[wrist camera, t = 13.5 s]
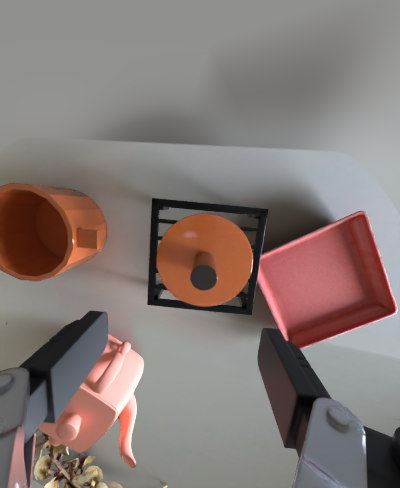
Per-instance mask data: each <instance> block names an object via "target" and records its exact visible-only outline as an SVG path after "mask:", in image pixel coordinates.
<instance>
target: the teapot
mask: <svg viewBox="0 0 400 488" xmlns="http://www.w3.org/2000/svg"><path fill="white" fill-rule="evenodd" d="M142 372H143V358H142V357H141V356H140V355H139V354H138V353H136V352H135V351H133V350H132V349H131V345H130V343H129V342H127V341H124V342H123V343H122V342H121V341H119V340H118V339H116V338H114V337H113V336H111V335H110V334H108V341H107V345H106V348H105V350H104V352H103V354H102V355H101V357H100V358H99V360H98V361H97V363H96V364H95V365H94V367H93V368H92V370H91V371H90V373H89V374H88V376H87V377H86V379H85V380H84V382H83V383H82V385H81V386H80V387H79V389H78V390H77V392H76V393H75V395H74V396H73V398H72V399H71V401H70V402H69V404H68V405H67V407H66V408H65V409H64V411H63V412H62V414H61V415H60V417H59V418H58V420H57V421H56V423H46V422H42V424H41V425H40V426H39V428H38V429H39V430H41V431H42V432H44V433H45V434H46V435H48V436H50V437H49V443H50V444H51V445H53V446H59V445H60V444H63V445H65V446H66V447H68V448H70V449H72V450H74V451H76V452H78V453H82V452H84V451H86V450H88V449H89V448H90V447H92V446H93V445H94V444H95V443H96V442H97V441H98V440H99V439H100V438H101V437H102V436H103V435H104V434H105V433H106V432H107V430H108V429H109V428H110V426H111V425H112V424H113V422H114V421H115V420H116V418H117V417H118V419H119V421H120V425H121V432H120V440H119V450H120V454H121V457H122V459H123V460H124V462H125V463H126V464H127V465H129V466H130V467H132V468H135V467H136V462H135V460H134V457H133V454H132V450H131V437H132V431H133V427H134V422H135V418H136V411H137V405H136V400H135V397H134V394H133V392H134V390H135V388H136V386H137V384H138V382H139V380H140V378H141V375H142Z"/></svg>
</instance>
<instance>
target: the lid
mask: <svg viewBox="0 0 400 488" xmlns="http://www.w3.org/2000/svg"><path fill="white" fill-rule="evenodd" d="M252 265H253V254H252V249H251V246H250V243H249V241H248V239H247V237H246V236H245V234H244V233H243V231H242V230H241V229H240V228H239V227H238V226H237V225H235V224H234V223H233V222H231V221H230V220H228V219H226V218H224V217H222V216H218V215H214V214H204V213H202V214H195V215H191V216H188V217H185V218H183V219H181V220H179V221H178V222H176V223H175V224H174V225H172V226H171V227H170V228H169V229H168V230H167V232H166V233H165V234H164V236H163V238H162V239H161V242H160V244H159V247H158V251H157V269H158V272H159V276H160V278H161V280H162V282H163V284H164V285H165V287H166V288H167V289H168V290H169V291H170V292H171V293H172V294H173V295H174V296H175V297H177V298H178V299H180V300H182V301H183V302H186V303H188V304H192V305H196V306H214V305H218V304H221V303H224V302H226V301H228V300H230V299H232V298H233V297H235V296H236V295H237V294H238V293H239V292H240V291H241V290H242V289H243V288H244V286H245V285H246V283H247V281H248V279H249V277H250V274H251V271H252Z"/></svg>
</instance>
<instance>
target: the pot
mask: <svg viewBox="0 0 400 488" xmlns="http://www.w3.org/2000/svg"><path fill="white" fill-rule="evenodd" d="M105 239H106V222H105V219H104V216H103V214H102V212H101V210H100V209H99V207H98V206H97V205H96V203H95V202H94V201H93V200H92V199H90V198H89V197H88V196H86V195H84V194H83V193H80V192H78V191H75V190H71V189H63V188H54V187H45V186H37V185H28V184H17V183H9V184H6V185H4V186H1V187H0V270H1V271H3V272H5V273H7V274H9V275H11V276H13V277H15V278H18V279H20V280H30V281H41V280H44V279H48V278H51V277H54V276H56V275H58V274H61V273H63V272H65V271H67V270H69V269H71V268H73V267H76V266H78V265H80V264H82V263H84V262H86V261H88V260H90V259H91V258H93V257H94V256H95V255H96V254H97V253H98V252H99V251H100V250H101V248H102V247H103V245H104V242H105Z"/></svg>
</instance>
